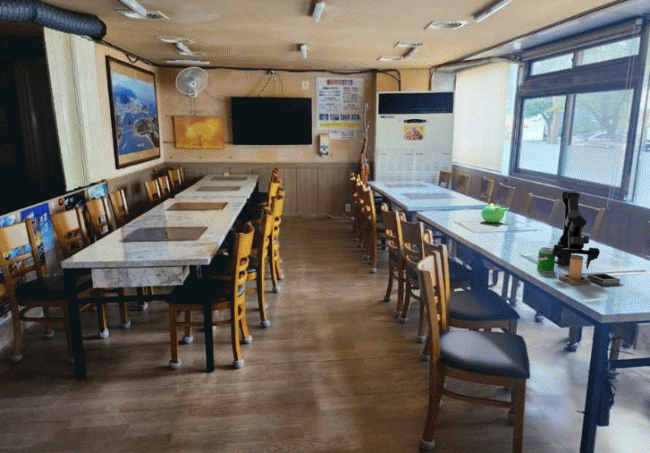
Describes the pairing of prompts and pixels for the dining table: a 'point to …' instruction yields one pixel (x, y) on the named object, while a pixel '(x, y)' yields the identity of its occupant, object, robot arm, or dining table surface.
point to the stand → (574, 282)
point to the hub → (604, 280)
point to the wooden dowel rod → (575, 267)
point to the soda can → (546, 260)
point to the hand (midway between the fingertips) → (575, 267)
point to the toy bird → (493, 213)
